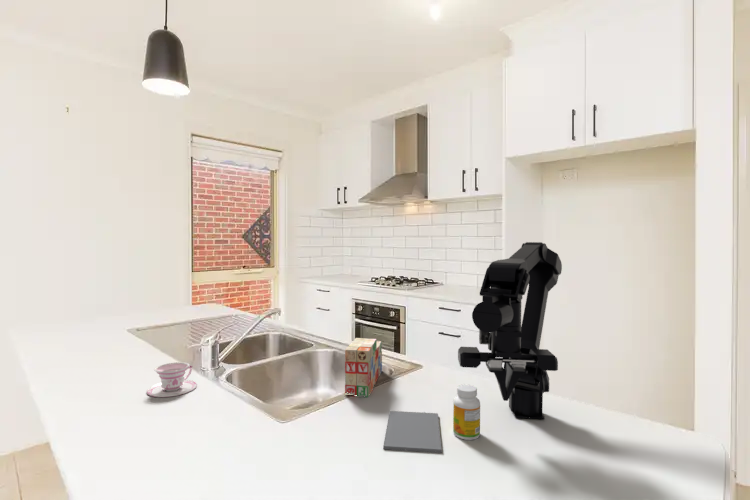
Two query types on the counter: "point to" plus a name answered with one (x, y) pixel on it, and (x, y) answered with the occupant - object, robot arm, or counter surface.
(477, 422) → the supplement bottle
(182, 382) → the teacup
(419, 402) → the counter surface
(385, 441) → the charcoal mat
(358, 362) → the stack of blocks
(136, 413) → the counter surface
